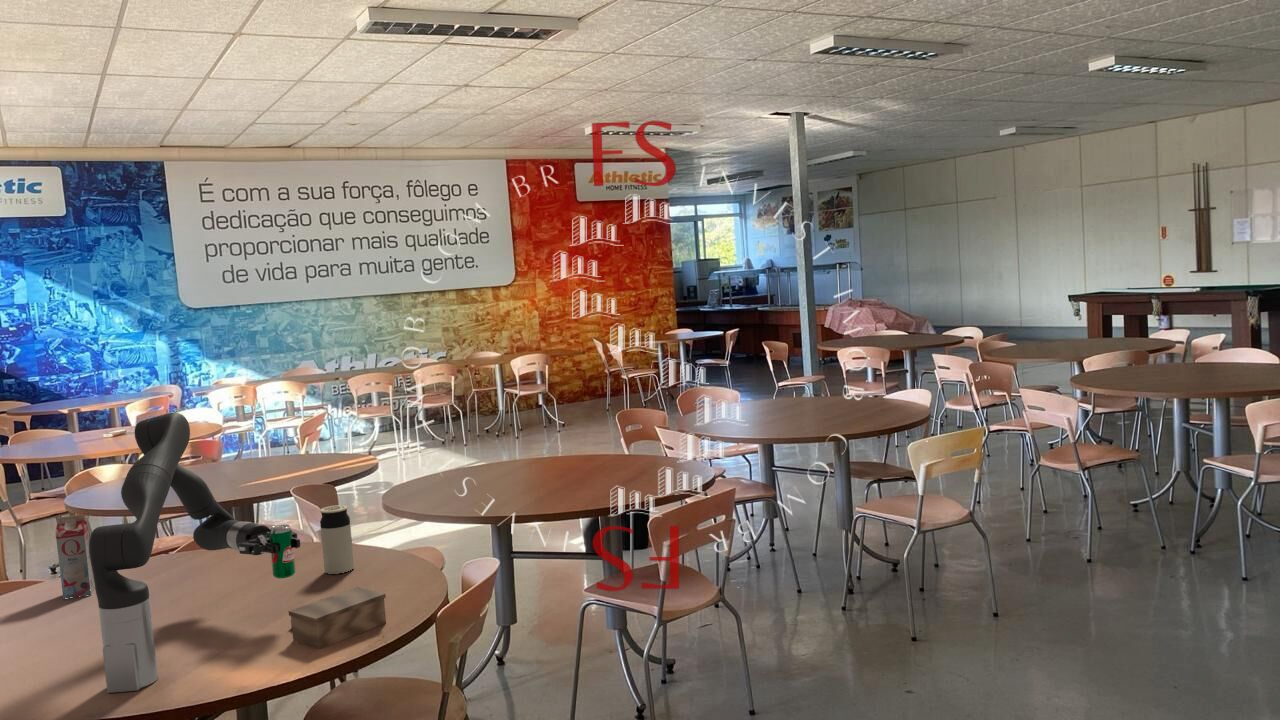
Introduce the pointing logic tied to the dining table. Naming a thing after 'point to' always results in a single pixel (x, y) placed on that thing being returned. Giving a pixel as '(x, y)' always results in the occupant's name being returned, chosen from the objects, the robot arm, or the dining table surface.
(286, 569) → the soda can
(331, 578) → the dining table surface
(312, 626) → the shoebox
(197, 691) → the dining table surface
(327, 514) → the travel mug
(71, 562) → the juice carton
